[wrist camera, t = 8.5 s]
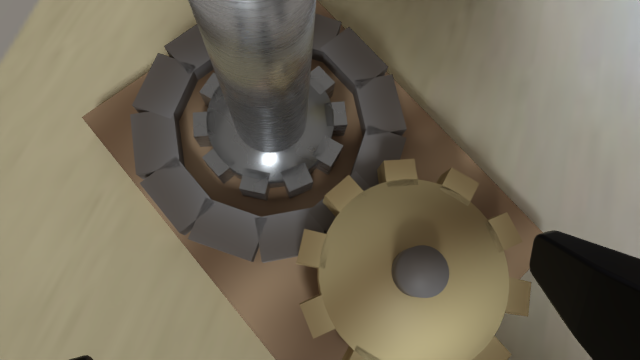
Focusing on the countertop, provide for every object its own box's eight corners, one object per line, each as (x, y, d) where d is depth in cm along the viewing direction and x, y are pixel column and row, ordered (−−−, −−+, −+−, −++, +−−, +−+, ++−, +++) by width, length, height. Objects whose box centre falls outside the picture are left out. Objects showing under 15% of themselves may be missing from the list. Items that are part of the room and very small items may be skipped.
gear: (367, 108, 22) (480, -162, 9) (297, 227, 20) (304, 115, 7) (249, 43, 22) (187, -304, 9) (171, 153, 20) (-46, -81, 7)
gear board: (552, 259, 22) (625, 251, 17) (360, 460, 19) (383, 519, 14) (291, -12, 25) (291, -83, 20) (93, 126, 22) (37, 81, 17)
